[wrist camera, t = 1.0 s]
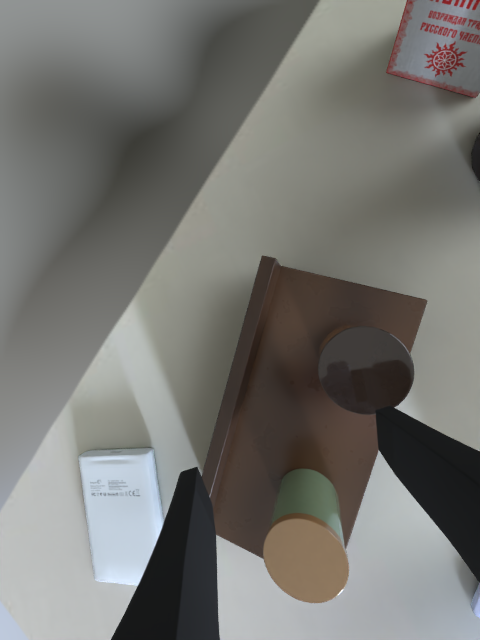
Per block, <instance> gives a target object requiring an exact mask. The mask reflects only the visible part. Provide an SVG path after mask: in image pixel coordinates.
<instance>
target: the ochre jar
mask: <svg viewBox="0 0 480 640" xmlns="http://www.w3.org/2000/svg"><path fill="white" fill-rule="evenodd" d="M318 375H319V380H320V383H321V385H322V387H323V390H324V391H325V393H326V394H327V395H328V397H329V398H330V399H331V400H332V401H333V402H334V403H335V404H337V405H338V406H340V407H341V408H343V409H345V410H347V411H349V412H352V413H356V414H361V415H375V414H376V413H375V410H377V409H380V408H384V407H387V406H392V407H396V406H397V405H399V404H400V403H401V402H402V401H403V400H404V399H405V398H406V396H407V395H408V393H409V391H410V389H411V387H412V384H413V380H414V365H413V361H412V358H411V355H410V353H409V352H408V350H407V348H406V347H405V345H404V344H403V343H402V342H401V341H400V340H399V339H398V338H396V337H395V336H394V335H392V334H391V333H389V332H387V331H385V330H382V329H379V328H376V327H371V326H358V325H345V326H341V327H338V328H336V329H334V330H332V331H331V332H330V333H328V335H327V336H326V337H325V338H324V339H323V341H322V343H321V346H320V349H319V361H318Z"/></svg>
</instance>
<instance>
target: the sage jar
mask: <svg viewBox="0 0 480 640" xmlns="http://www.w3.org/2000/svg"><path fill="white" fill-rule="evenodd" d="M263 556H264V562H265V565H266V568H267V570H268V572H269V574H270V576H271V578H272V579H273V580H274V582H275V583H276V584H277V585H278V586H279V587H280V588H281V589H282V590H283V591H284V592H285V593H287V594H288V595H290V596H292V597H293V598H296V599H298V600H300V601H303V602H308V603H322V602H327V601H329V600H332V599H333V598H335V597H336V596H338V595H339V594H340V593H341V592H342V590H343V589H344V587H345V585H346V583H347V580H348V576H349V563H348V556H347V552H346V549H345V546H344V539H343V530H342V522H341V514H340V506H339V499H338V495H337V492H336V490H335V488H334V486H333V484H332V483H331V482H330V481H329V480H328V479H327V478H326V477H325V476H324V475H322V474H321V473H319V472H317V471H314V470H311V469H304V468H303V469H296V470H293V471H291V472H289V473H287V474H286V475H285V476H284V477H283V478H282V479H281V481H280V483H279V486H278V490H277V495H276V499H275V504H274V508H273V513H272V517H271V522H270V527H269V529H268V531H267V533H266V537H265V541H264V545H263Z"/></svg>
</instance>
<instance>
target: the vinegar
mask: <svg viewBox="0 0 480 640" xmlns="http://www.w3.org/2000/svg"><path fill="white" fill-rule="evenodd" d="M472 168H473V170H474V172H475V174H476V176H477V178H478V180H479V181H480V133H479V134H478V136H477V138H476V141H475V144H474V147H473V151H472Z"/></svg>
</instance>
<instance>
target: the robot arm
mask: <svg viewBox="0 0 480 640" xmlns="http://www.w3.org/2000/svg"><path fill="white" fill-rule="evenodd" d="M375 413H376V426H377V438H378V449H379V451H380V452H381V454H382V455H383V457H384V458H385V460H386V462H387V463H388V465H389V466H390V468H391V469H392V470H393V472H394V473H395V475H396V476H397V477H398V479H399V480H400V481H401V482H402V484H403V485H404V486H405V487H406V488H407V490H408V491H409V492H410V493H411V495H412V496H413V497H414V498H415V499H416V501H417V502H418V503H419V504H420V505H421V507H422V508H423V509H424V510H425V512H426V513H427V514H428V515H429V516H430V518H431V519H432V520H433V521H434V522H435V524H436V525H437V526H438V527H439V528H440V530H441V531H442V532H443V533H444V535H445V536H446V537H447V538H448V540H449V541H450V542H451V544H452V545H453V546H454V548H455V549H456V550H457V552H458V553H459V554H460V556H461V557H462V559H463V560H464V562H465V563H466V564H467V566H468V567H469V569H470V570H471V571H472V573H473V574H474V576H475V577H476V579H477V580H478V581H479V584H478V587H477V590H476V592H475V595H474V598H473V600H472V603H471V608H472V610H473V612H474V614H475V615H476V616H477V617H479V618H480V451H478V450H475V449H473V448H471V447H469V446H467V445H465V444H463V443H461V442H458V441H456V440H454V439H452V438H450V437H448V436H446V435H444V434H442V433H441V432H439V431H437V430H435V429H433V428H431V427H429V426H427V425H425V424H423V423H421V422H420V421H418V420H416V419H414V418H412V417H410V416H408V415H407V414H405V413H403V412H401V411H399V410H397V409H395V408H394V407H392V406H387V407H384V408H380V409H377V410H375ZM111 640H220V637H219V622H218V592H217V553H216V531H215V522H214V514H213V506H212V502H211V499H210V497H209V494H208V492H207V490H206V487H205V485H204V482H203V480H202V477H201V475H200V472H199V470H198V468H197V467H195V468H192V469H189V470H186V471H183V472H181V473H180V475H179V479H178V482H177V485H176V489H175V492H174V495H173V498H172V501H171V504H170V507H169V510H168V513H167V516H166V518H165V521H164V524H163V526H162V529H161V532H160V535H159V537H158V540H157V542H156V545H155V547H154V550H153V552H152V554H151V557H150V559H149V562H148V564H147V566H146V569H145V571H144V573H143V576H142V578H141V580H140V582H139V584H138V587H137V589H136V591H135V593H134V595H133V597H132V599H131V601H130V603H129V605H128V607H127V610H126V612H125V614H124V616H123V617H122V619H121V621H120V623H119V625H118V627H117V629H116V631H115V633H114V635H113V637H112V639H111Z"/></svg>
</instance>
